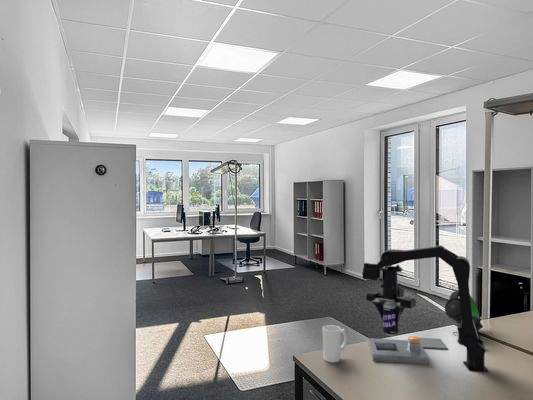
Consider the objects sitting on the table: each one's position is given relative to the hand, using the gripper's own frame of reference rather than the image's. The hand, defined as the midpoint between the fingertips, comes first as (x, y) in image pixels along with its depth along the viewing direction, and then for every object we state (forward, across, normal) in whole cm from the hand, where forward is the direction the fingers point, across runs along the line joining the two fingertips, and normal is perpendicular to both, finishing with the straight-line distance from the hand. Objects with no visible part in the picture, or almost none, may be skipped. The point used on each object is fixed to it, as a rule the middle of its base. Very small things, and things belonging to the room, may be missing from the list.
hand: (390, 320), depth 149 cm
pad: (+13, -9, -19) cm, 25 cm away
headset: (+13, -17, -41) cm, 46 cm away
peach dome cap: (+9, -8, -4) cm, 13 cm away
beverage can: (+5, 0, 0) cm, 5 cm away
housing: (+13, -2, 0) cm, 13 cm away
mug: (+13, +13, +20) cm, 27 cm away
